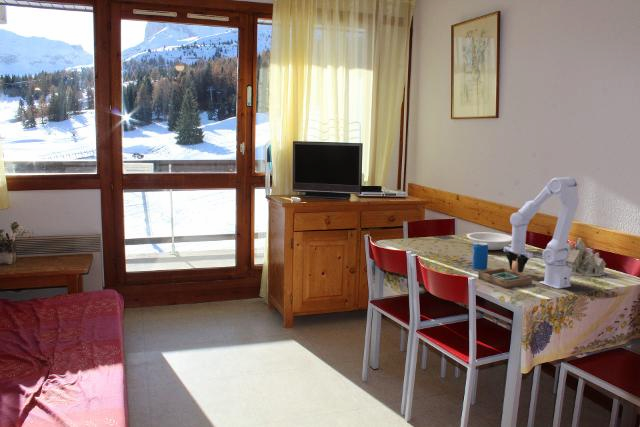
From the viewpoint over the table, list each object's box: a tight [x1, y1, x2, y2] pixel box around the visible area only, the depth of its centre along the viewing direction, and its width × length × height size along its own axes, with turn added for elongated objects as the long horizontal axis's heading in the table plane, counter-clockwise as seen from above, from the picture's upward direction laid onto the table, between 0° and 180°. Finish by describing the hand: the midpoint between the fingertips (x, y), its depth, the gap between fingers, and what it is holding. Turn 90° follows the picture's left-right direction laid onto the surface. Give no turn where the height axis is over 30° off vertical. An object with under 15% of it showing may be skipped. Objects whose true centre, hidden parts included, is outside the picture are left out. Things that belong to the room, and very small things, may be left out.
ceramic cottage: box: [565, 237, 607, 277], centre depth 245 cm, size 16×16×15 cm
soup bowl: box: [466, 231, 512, 251], centre depth 290 cm, size 24×24×7 cm
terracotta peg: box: [511, 259, 522, 274], centre depth 242 cm, size 4×4×6 cm
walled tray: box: [477, 267, 533, 290], centre depth 231 cm, size 16×14×3 cm
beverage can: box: [471, 242, 489, 272], centre depth 249 cm, size 6×6×12 cm
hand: (516, 270), depth 243 cm, fingers closed on terracotta peg, 4 cm apart
